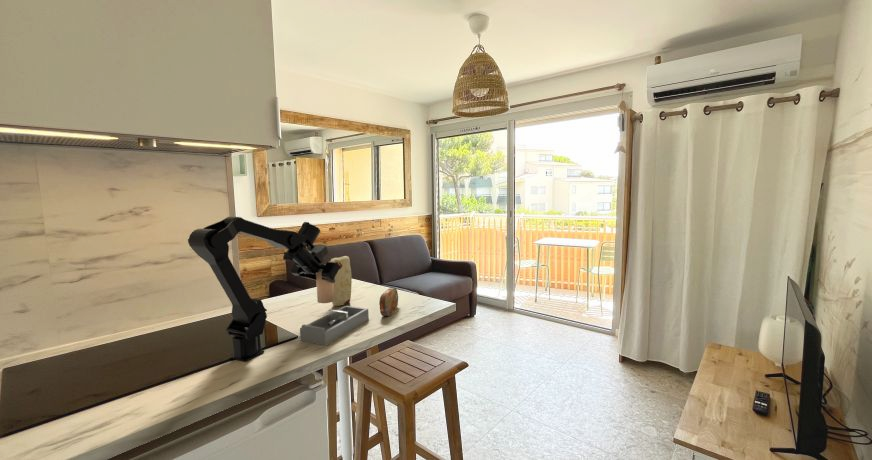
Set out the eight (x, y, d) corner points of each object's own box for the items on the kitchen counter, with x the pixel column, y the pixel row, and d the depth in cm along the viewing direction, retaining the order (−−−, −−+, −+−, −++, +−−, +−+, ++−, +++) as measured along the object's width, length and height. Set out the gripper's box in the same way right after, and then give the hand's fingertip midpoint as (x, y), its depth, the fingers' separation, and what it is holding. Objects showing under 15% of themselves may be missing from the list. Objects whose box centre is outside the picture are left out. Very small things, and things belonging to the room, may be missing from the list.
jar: (327, 304, 129) (325, 268, 128) (313, 302, 132) (311, 267, 130) (338, 299, 135) (336, 265, 133) (324, 297, 137) (323, 263, 136)
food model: (338, 309, 143) (335, 259, 140) (327, 306, 146) (324, 257, 144) (356, 302, 151) (354, 255, 148) (345, 299, 154) (343, 253, 152)
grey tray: (325, 345, 110) (325, 329, 109) (300, 340, 114) (299, 325, 113) (368, 319, 131) (368, 306, 130) (346, 315, 135) (345, 302, 134)
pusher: (339, 331, 118) (338, 317, 117) (321, 328, 121) (320, 314, 120) (348, 325, 122) (347, 311, 122) (330, 322, 125) (330, 309, 125)
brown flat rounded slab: (386, 319, 131) (385, 296, 130) (378, 319, 131) (377, 296, 130) (399, 305, 145) (398, 285, 144) (391, 305, 146) (391, 285, 145)
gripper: (335, 239, 123) (357, 264, 134) (295, 236, 131) (318, 261, 142) (320, 266, 117) (344, 291, 128) (278, 262, 125) (304, 285, 136)
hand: (327, 281), depth 134 cm, fingers closed on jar, 6 cm apart
